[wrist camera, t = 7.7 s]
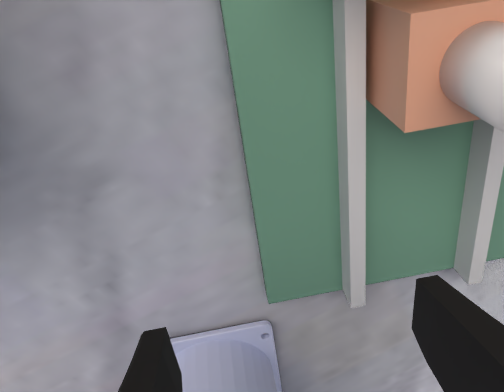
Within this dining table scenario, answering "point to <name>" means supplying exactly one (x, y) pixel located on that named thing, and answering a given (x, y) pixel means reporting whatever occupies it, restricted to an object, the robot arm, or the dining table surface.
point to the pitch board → (350, 161)
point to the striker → (436, 61)
